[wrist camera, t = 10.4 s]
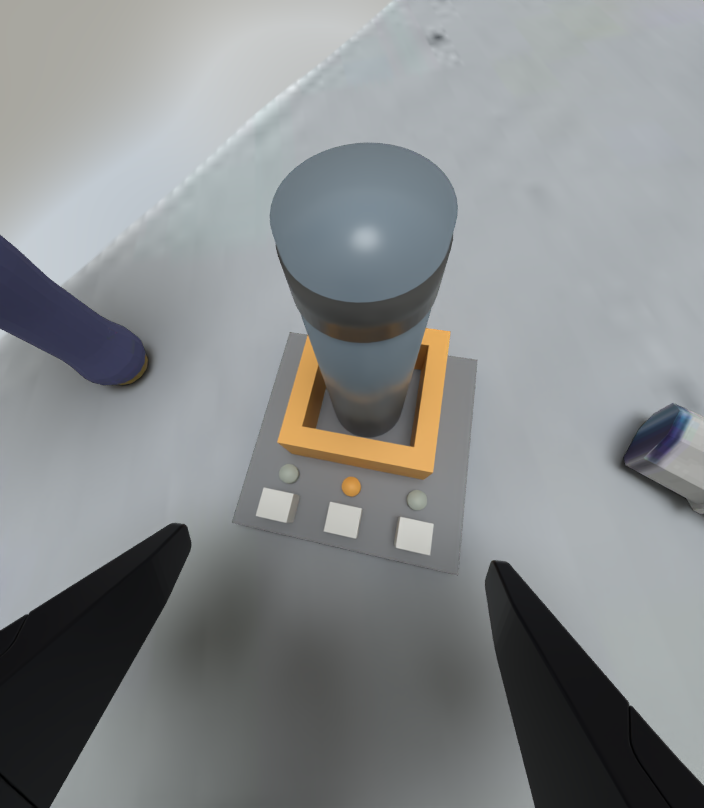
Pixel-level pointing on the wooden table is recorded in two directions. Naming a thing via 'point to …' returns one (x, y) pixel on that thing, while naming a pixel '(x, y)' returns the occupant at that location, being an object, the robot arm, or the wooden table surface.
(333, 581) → the wooden table surface
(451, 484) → the panel
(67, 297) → the rubber mallet
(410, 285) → the plug
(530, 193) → the wooden table surface
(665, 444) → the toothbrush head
